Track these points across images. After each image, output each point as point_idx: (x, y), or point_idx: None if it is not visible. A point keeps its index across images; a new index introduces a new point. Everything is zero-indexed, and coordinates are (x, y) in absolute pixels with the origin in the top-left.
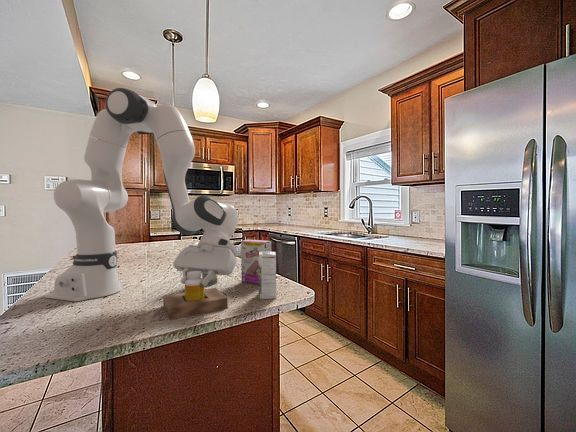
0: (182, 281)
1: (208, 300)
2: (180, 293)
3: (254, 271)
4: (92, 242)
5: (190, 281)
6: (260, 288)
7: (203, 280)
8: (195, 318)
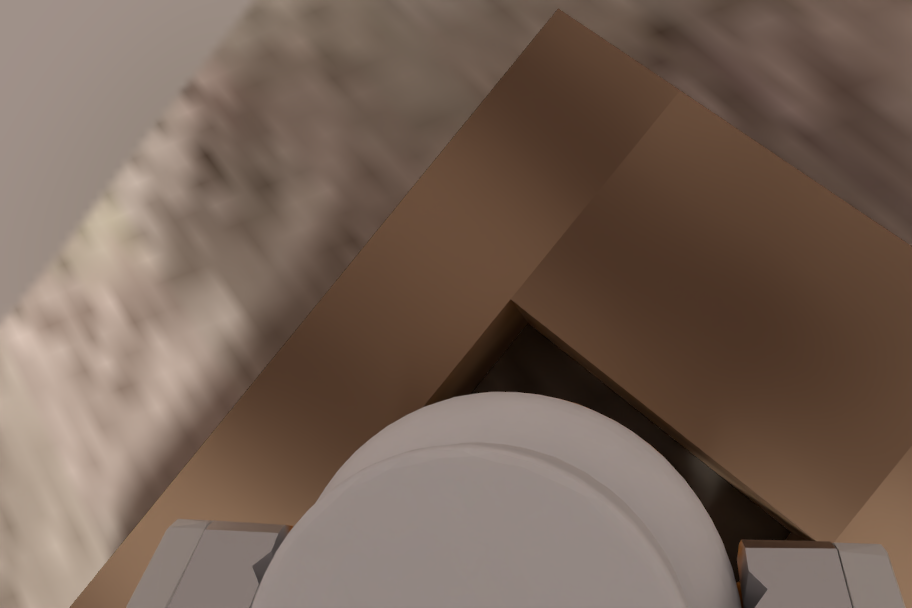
0: (824, 543)
1: (218, 483)
2: None
3: None
4: None
5: (468, 436)
6: None
7: (181, 578)
8: (299, 223)
